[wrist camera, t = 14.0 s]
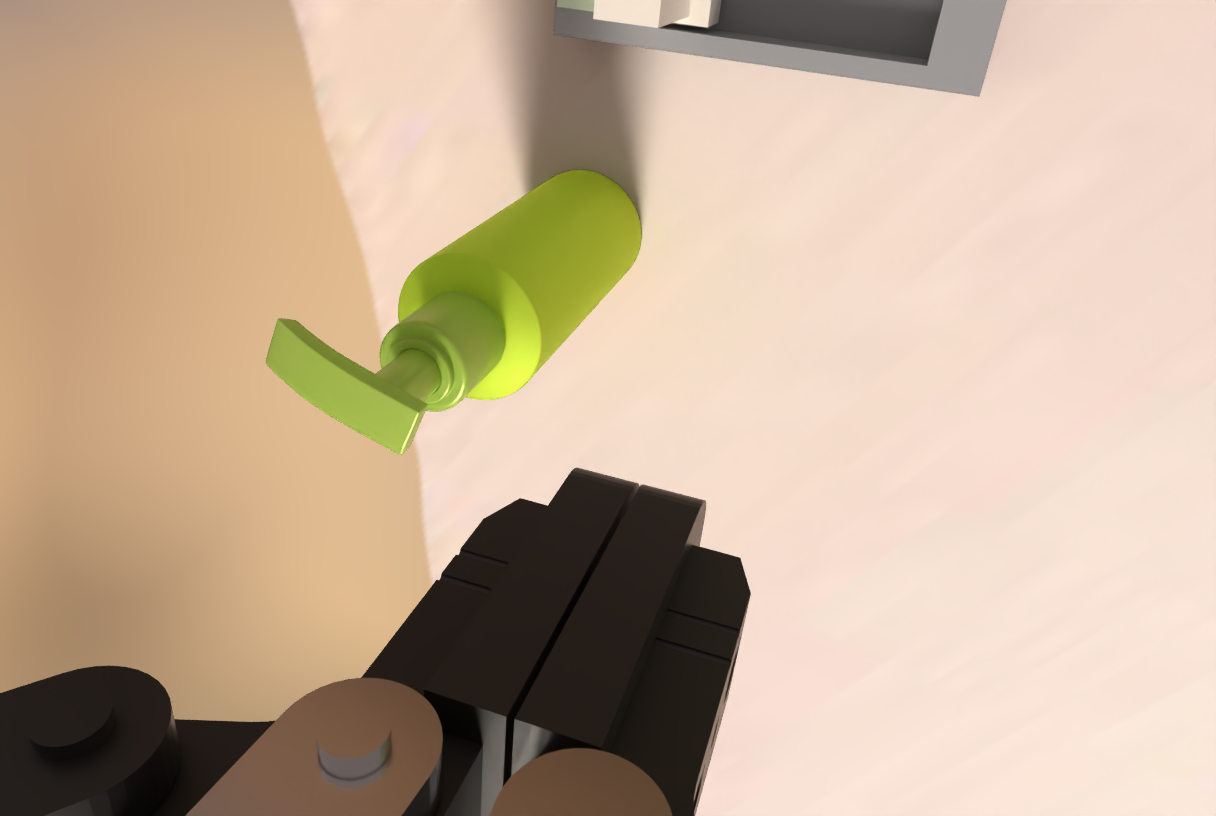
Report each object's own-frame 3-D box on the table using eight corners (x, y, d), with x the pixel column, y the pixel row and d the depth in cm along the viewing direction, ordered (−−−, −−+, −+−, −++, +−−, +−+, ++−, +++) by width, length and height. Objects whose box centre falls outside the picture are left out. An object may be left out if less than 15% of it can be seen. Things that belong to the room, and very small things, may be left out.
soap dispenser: (538, 135, 43) (282, 270, 26) (662, 210, 43) (483, 394, 26) (494, 237, 46) (241, 415, 30) (609, 307, 46) (420, 526, 29)
